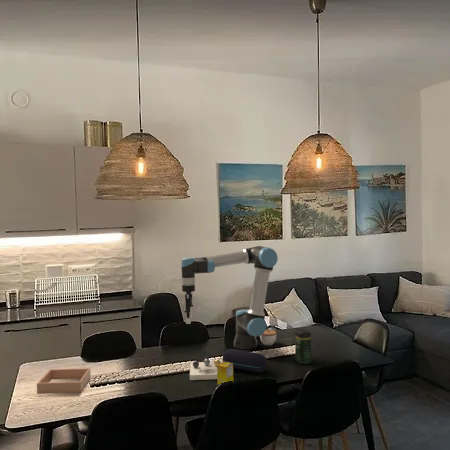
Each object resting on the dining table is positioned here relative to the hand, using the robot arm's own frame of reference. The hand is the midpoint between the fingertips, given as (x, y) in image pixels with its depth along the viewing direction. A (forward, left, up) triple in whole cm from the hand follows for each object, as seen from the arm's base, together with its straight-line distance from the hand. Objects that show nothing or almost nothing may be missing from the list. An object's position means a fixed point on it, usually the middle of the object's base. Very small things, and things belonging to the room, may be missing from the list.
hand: (189, 320), depth 277 cm
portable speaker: (-31, +18, -24) cm, 43 cm away
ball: (-10, +17, -19) cm, 27 cm away
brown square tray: (+62, +34, -23) cm, 75 cm away
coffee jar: (-65, +9, -23) cm, 70 cm away
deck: (-10, +23, -23) cm, 34 cm away
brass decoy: (-15, +19, -19) cm, 31 cm away
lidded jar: (-50, -28, -23) cm, 62 cm away
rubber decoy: (-4, +20, -19) cm, 28 cm away
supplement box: (-19, +41, -23) cm, 51 cm away
